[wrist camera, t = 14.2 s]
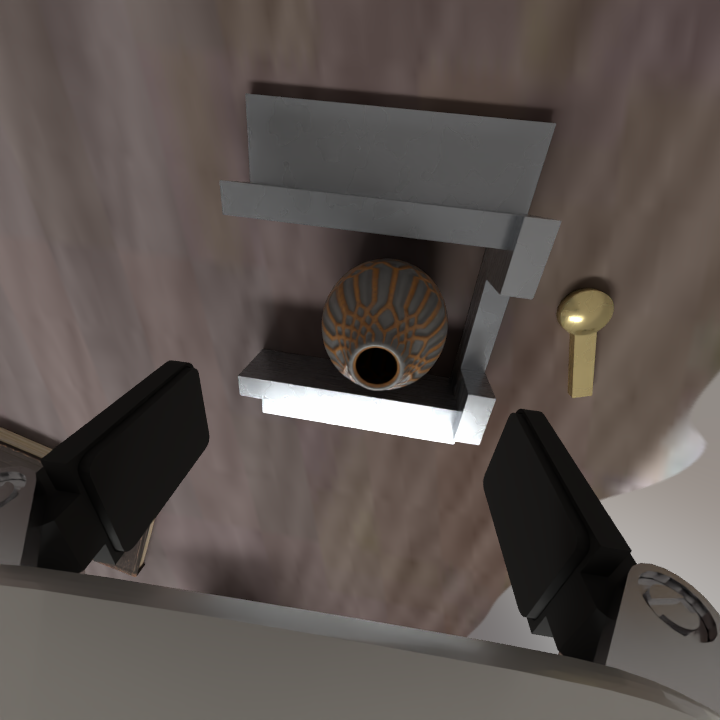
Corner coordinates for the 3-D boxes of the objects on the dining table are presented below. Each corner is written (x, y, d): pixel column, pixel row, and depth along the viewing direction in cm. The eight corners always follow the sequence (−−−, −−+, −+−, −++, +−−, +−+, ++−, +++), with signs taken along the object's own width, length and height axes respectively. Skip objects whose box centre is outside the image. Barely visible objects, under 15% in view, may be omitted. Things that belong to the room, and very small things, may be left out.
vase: (386, 368, 23) (375, 454, 16) (316, 302, 22) (265, 362, 14) (464, 305, 21) (496, 373, 13) (389, 224, 19) (377, 246, 11)
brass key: (556, 292, 20) (561, 296, 19) (608, 282, 19) (615, 286, 18) (554, 392, 23) (559, 399, 22) (599, 387, 22) (605, 394, 21)
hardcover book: (-49, 397, 32) (-80, 410, 30) (167, 490, 35) (153, 508, 33) (-30, 489, 40) (-53, 505, 38) (147, 560, 42) (134, 579, 40)
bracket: (250, 96, 17) (195, 63, 13) (551, 125, 16) (606, 100, 11) (265, 407, 27) (237, 450, 22) (453, 439, 26) (462, 490, 21)
